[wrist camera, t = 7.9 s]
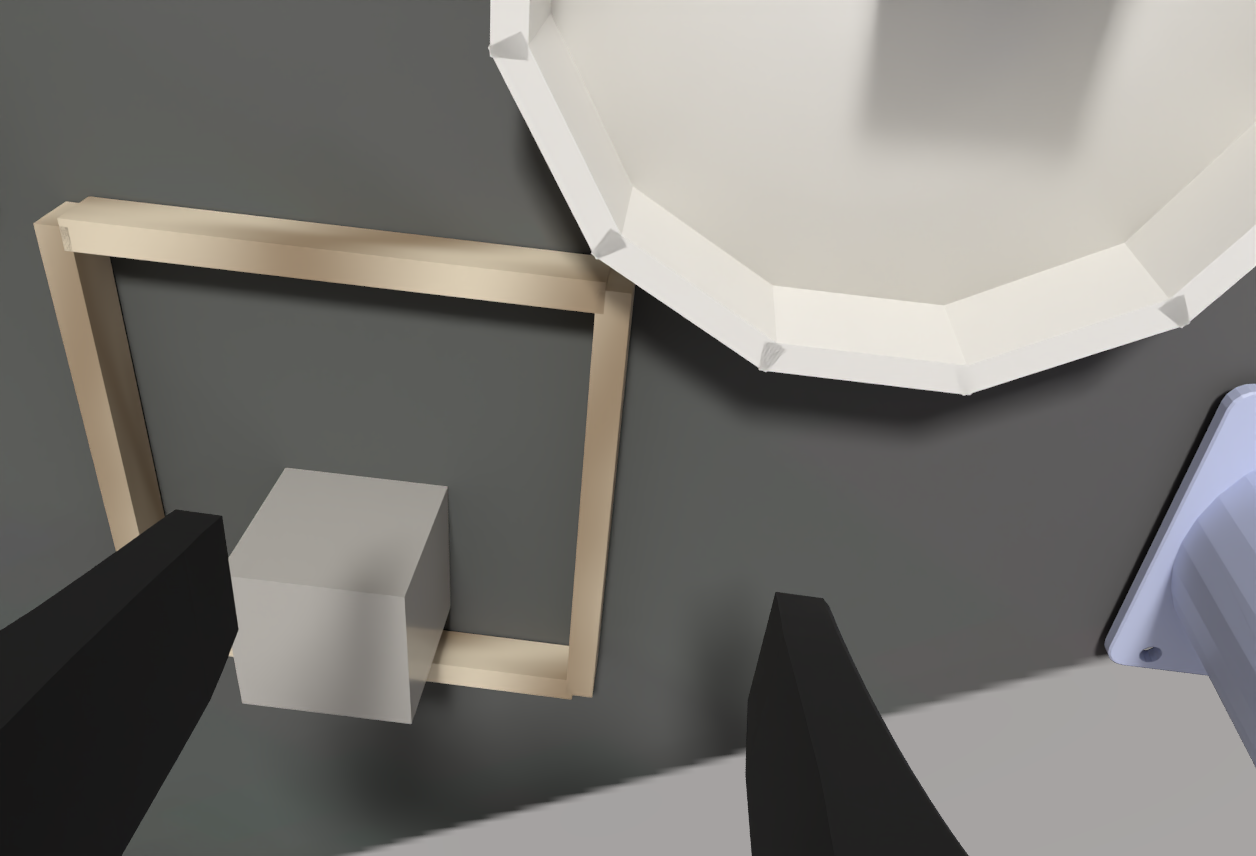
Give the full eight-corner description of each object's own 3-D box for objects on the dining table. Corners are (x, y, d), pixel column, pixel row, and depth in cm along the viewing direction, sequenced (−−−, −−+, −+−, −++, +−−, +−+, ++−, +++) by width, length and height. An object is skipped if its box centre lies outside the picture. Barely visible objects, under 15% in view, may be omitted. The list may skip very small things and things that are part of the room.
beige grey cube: (448, 484, 25) (404, 597, 22) (451, 604, 27) (411, 724, 24) (286, 465, 25) (217, 574, 22) (302, 587, 27) (242, 703, 24)
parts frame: (637, 260, 21) (632, 285, 20) (596, 667, 28) (591, 702, 27) (63, 193, 21) (31, 215, 20) (160, 612, 28) (139, 644, 27)
